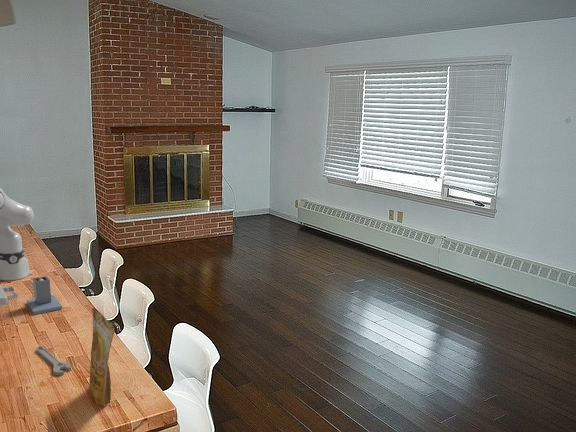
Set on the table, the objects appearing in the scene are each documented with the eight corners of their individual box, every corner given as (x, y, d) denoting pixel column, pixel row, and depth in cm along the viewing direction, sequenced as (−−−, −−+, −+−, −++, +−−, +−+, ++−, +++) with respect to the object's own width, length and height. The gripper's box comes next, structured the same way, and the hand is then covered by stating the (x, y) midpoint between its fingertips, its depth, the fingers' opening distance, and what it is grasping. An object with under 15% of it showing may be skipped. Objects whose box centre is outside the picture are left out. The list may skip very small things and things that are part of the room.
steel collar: (34, 300, 254) (32, 278, 251) (48, 298, 257) (46, 276, 254) (37, 305, 249) (35, 282, 246) (51, 302, 252) (49, 279, 250)
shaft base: (26, 303, 255) (24, 277, 252) (54, 297, 261) (52, 273, 258) (33, 314, 242) (31, 288, 239) (62, 309, 249) (60, 283, 246)
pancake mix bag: (106, 378, 191) (101, 304, 184) (119, 406, 175) (115, 325, 168) (86, 383, 187) (81, 307, 181) (98, 411, 171) (92, 329, 165)
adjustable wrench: (35, 351, 210) (34, 347, 210) (52, 347, 214) (52, 342, 214) (56, 377, 191) (55, 373, 191) (74, 372, 195) (74, 367, 195)
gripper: (-17, 298, 228) (19, 292, 236) (-23, 284, 244) (11, 278, 252) (-16, 312, 229) (20, 305, 237) (-22, 297, 246) (12, 291, 253)
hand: (15, 291), depth 245 cm, fingers open, 8 cm apart
